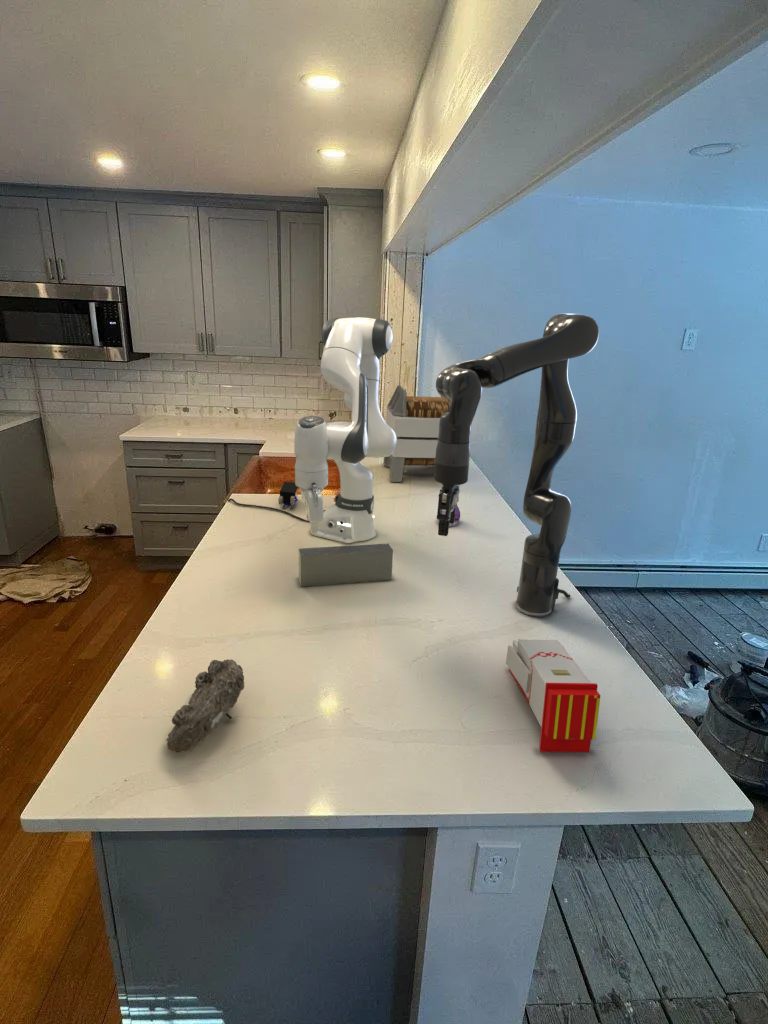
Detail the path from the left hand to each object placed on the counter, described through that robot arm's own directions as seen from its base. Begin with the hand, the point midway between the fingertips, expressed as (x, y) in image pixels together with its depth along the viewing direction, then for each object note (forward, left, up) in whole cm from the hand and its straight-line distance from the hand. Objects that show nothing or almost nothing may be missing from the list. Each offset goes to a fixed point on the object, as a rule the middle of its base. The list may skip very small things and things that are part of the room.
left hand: (312, 525), depth 157 cm
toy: (+65, -34, -17) cm, 75 cm away
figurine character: (-34, +58, -17) cm, 69 cm away
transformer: (+4, +124, -17) cm, 126 cm away
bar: (+9, +5, -17) cm, 20 cm away
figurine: (+29, +62, -17) cm, 70 cm away
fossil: (+4, -59, -17) cm, 62 cm away
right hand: (+39, -14, +10) cm, 43 cm away
